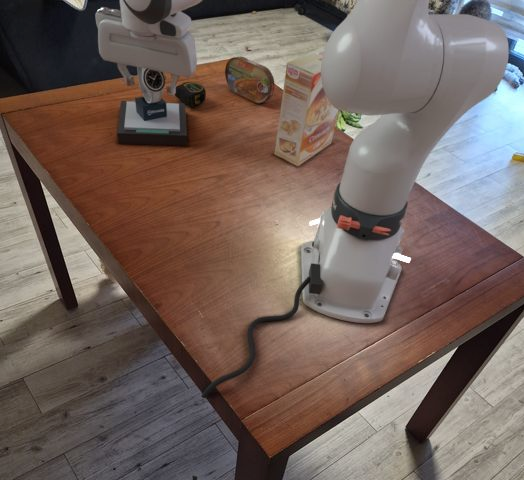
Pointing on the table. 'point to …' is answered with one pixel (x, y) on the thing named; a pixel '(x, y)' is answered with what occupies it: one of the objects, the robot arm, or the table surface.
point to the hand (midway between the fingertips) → (150, 89)
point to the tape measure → (191, 93)
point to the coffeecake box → (304, 111)
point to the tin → (249, 79)
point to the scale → (152, 126)
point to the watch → (151, 94)
